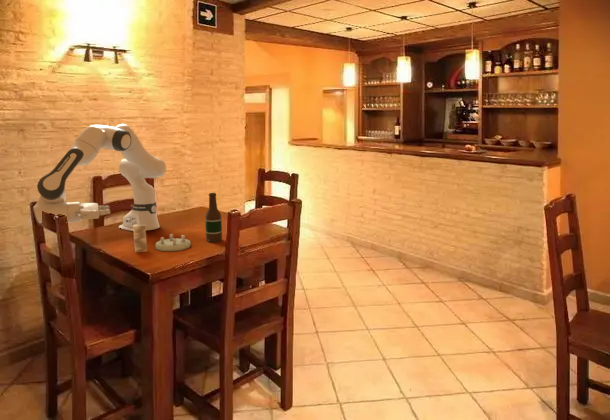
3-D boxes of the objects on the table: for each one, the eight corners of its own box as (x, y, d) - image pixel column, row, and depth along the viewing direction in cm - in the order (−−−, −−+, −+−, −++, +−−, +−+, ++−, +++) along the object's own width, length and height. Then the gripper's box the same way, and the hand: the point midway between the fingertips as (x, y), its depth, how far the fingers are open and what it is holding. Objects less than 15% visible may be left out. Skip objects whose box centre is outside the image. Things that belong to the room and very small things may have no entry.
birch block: (135, 252, 224) (133, 226, 222) (134, 249, 229) (132, 224, 226) (147, 251, 226) (145, 225, 224) (145, 248, 231) (144, 223, 228)
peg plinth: (158, 252, 223) (157, 242, 222) (154, 244, 238) (153, 234, 237) (193, 249, 230) (192, 238, 229) (187, 241, 244) (186, 231, 243)
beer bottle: (214, 237, 250) (212, 191, 246) (225, 240, 246) (223, 192, 241) (203, 241, 244) (201, 193, 239) (214, 243, 240) (212, 195, 235)
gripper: (74, 208, 203) (110, 206, 209) (75, 201, 222) (108, 199, 227) (75, 223, 205) (111, 221, 210) (76, 214, 223) (109, 212, 228)
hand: (109, 209), depth 219 cm, fingers open, 8 cm apart
